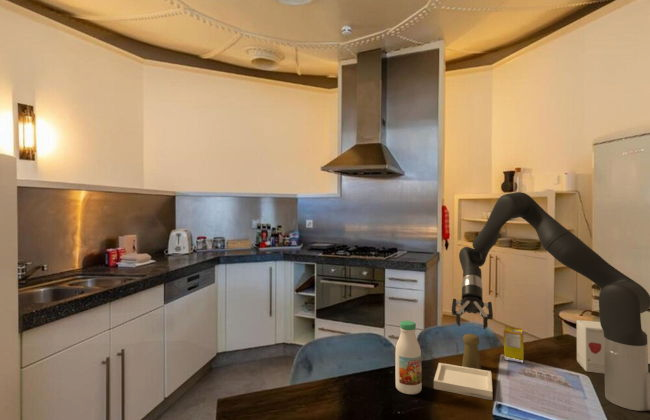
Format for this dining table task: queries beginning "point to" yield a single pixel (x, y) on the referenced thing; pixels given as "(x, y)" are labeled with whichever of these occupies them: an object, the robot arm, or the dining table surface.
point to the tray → (464, 381)
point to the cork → (471, 352)
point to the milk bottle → (408, 360)
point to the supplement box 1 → (513, 343)
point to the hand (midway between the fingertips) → (471, 326)
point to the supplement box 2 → (590, 346)
